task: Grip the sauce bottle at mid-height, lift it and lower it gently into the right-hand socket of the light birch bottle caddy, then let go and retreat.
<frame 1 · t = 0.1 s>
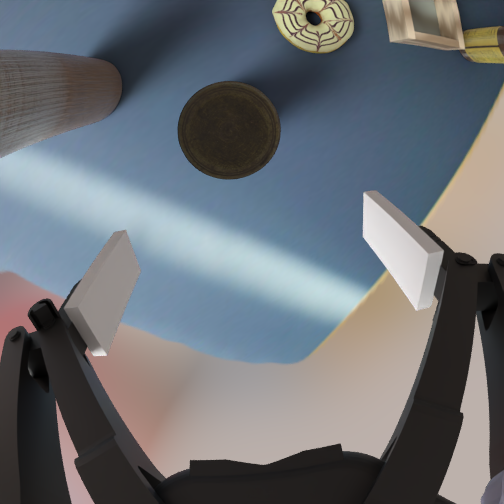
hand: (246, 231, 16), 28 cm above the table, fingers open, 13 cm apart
container: (231, 115, 38), on the table
sauce bottle: (466, 45, 31), on the table
decorated donut: (310, 21, 31), on the table
vase: (93, 90, 34), on the table
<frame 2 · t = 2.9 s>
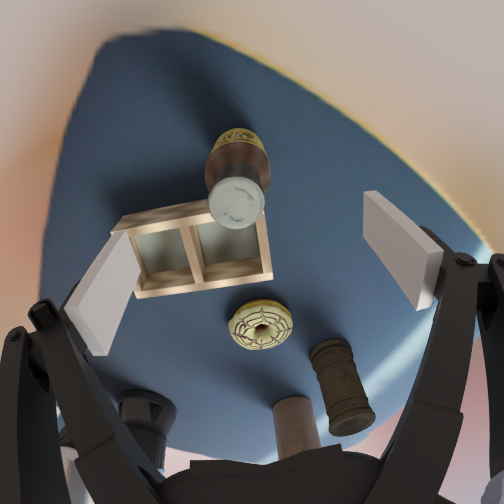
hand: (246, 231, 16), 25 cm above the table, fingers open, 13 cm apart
container: (330, 352, 58), on the table
sauce bottle: (237, 149, 38), on the table
caddy: (196, 237, 43), on the table
decorated donut: (259, 317, 52), on the table
vase: (291, 405, 68), on the table
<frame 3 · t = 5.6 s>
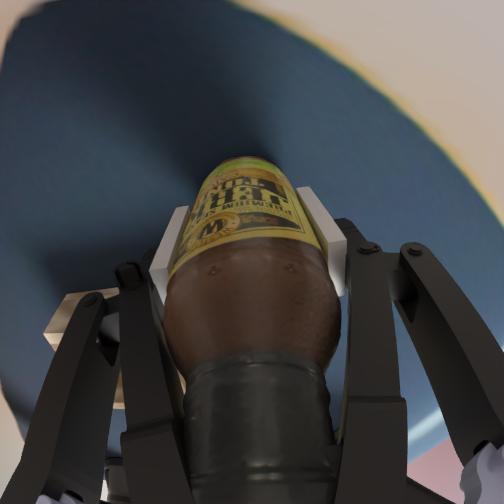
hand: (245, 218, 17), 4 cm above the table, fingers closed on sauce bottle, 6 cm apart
sauce bottle: (243, 194, 21), on the table, touching gripper
caddy: (178, 328, 27), on the table
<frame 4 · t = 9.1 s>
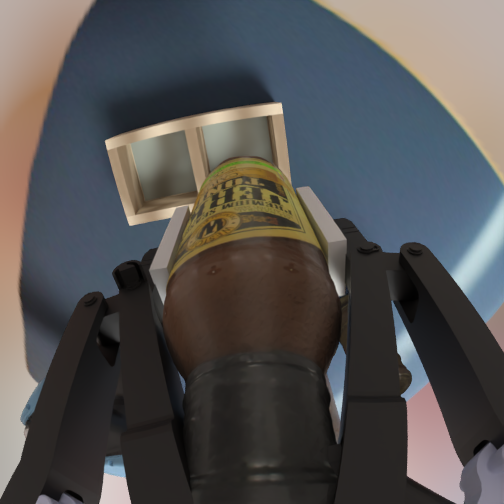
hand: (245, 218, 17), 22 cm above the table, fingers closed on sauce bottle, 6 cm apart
container: (351, 311, 52), on the table
sauce bottle: (243, 194, 21), point 18 cm above the table, touching gripper
caddy: (202, 155, 37), on the table
vase: (305, 380, 61), on the table
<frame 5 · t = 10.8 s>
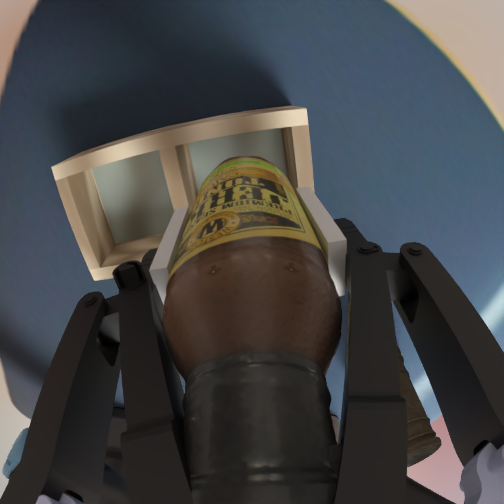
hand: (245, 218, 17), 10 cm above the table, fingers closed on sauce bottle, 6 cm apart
container: (372, 359, 41), on the table
sauce bottle: (243, 194, 21), point 6 cm above the table, touching gripper
caddy: (189, 182, 27), on the table
when the fingers open (7 cm above the table, at t = 12.4 s): sauce bottle drops 2 cm, resting on caddy.
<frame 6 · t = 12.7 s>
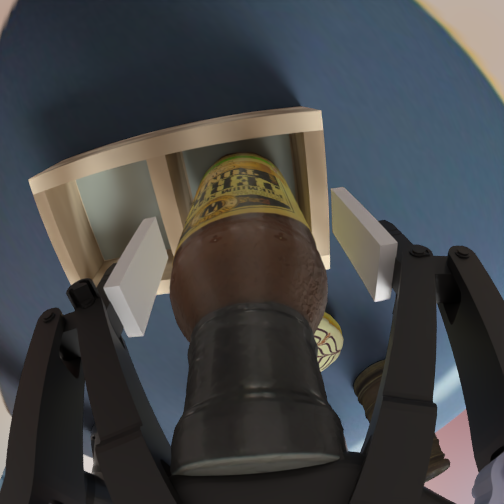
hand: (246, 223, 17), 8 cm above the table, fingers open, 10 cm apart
container: (380, 375, 38), on the table
sauce bottle: (240, 188, 22), point 1 cm above the table, touching caddy
caddy: (184, 193, 23), on the table
decorated donut: (288, 332, 32), on the table
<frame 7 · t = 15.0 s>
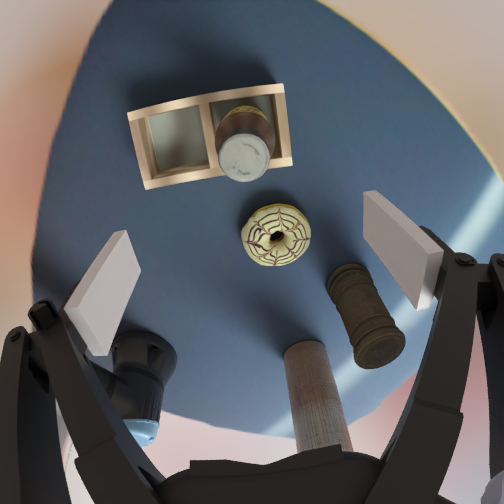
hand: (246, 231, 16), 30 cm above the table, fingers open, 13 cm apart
container: (348, 281, 55), on the table
sauce bottle: (244, 126, 39), point 1 cm above the table, touching caddy
caddy: (212, 130, 40), on the table
decorated donut: (274, 229, 49), on the table
vase: (304, 353, 65), on the table
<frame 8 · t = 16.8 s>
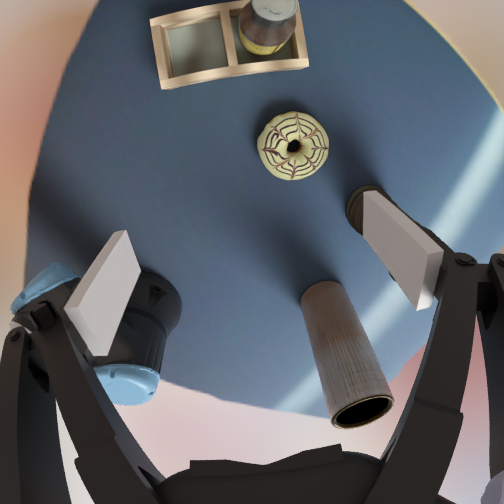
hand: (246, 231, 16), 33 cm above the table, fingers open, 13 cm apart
container: (367, 208, 51), on the table
sauce bottle: (260, 38, 35), point 1 cm above the table, touching caddy
caddy: (229, 43, 36), on the table
decorated donut: (290, 143, 45), on the table
vase: (323, 298, 61), on the table
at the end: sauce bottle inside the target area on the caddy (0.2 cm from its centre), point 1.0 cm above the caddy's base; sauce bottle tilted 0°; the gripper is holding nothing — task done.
